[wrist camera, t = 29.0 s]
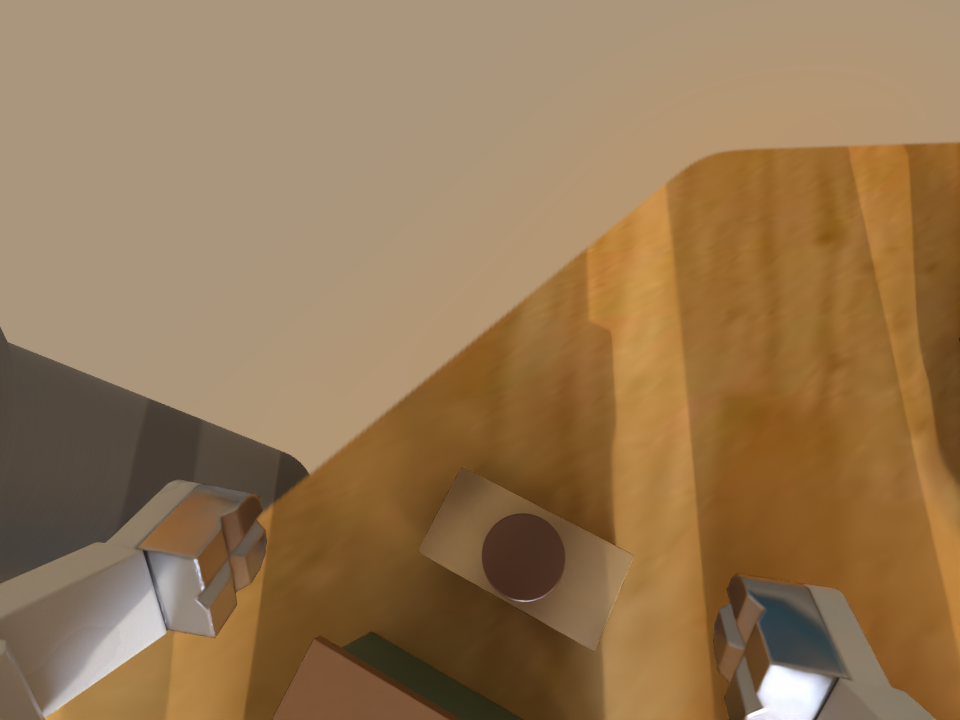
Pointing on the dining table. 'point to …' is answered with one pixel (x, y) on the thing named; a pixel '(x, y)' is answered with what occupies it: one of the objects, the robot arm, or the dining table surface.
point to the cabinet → (378, 687)
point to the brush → (527, 557)
